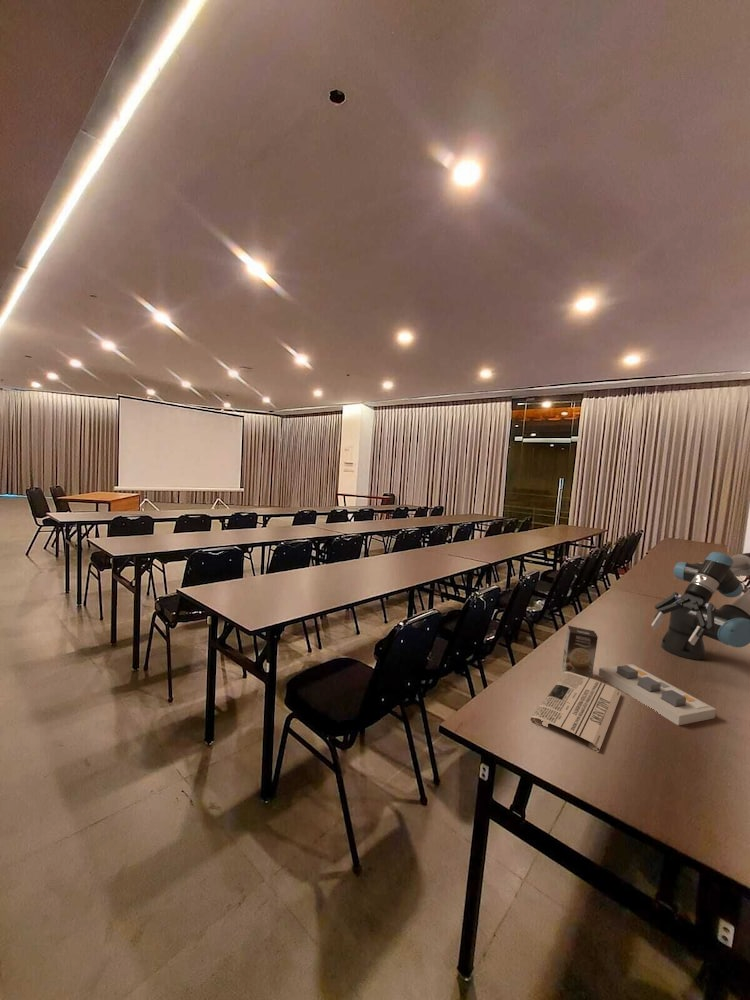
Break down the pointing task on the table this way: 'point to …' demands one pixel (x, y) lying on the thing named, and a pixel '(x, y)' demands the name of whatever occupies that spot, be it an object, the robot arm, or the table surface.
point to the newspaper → (579, 707)
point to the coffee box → (579, 651)
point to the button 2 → (673, 698)
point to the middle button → (649, 684)
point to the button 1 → (627, 672)
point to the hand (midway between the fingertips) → (671, 635)
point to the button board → (659, 697)
